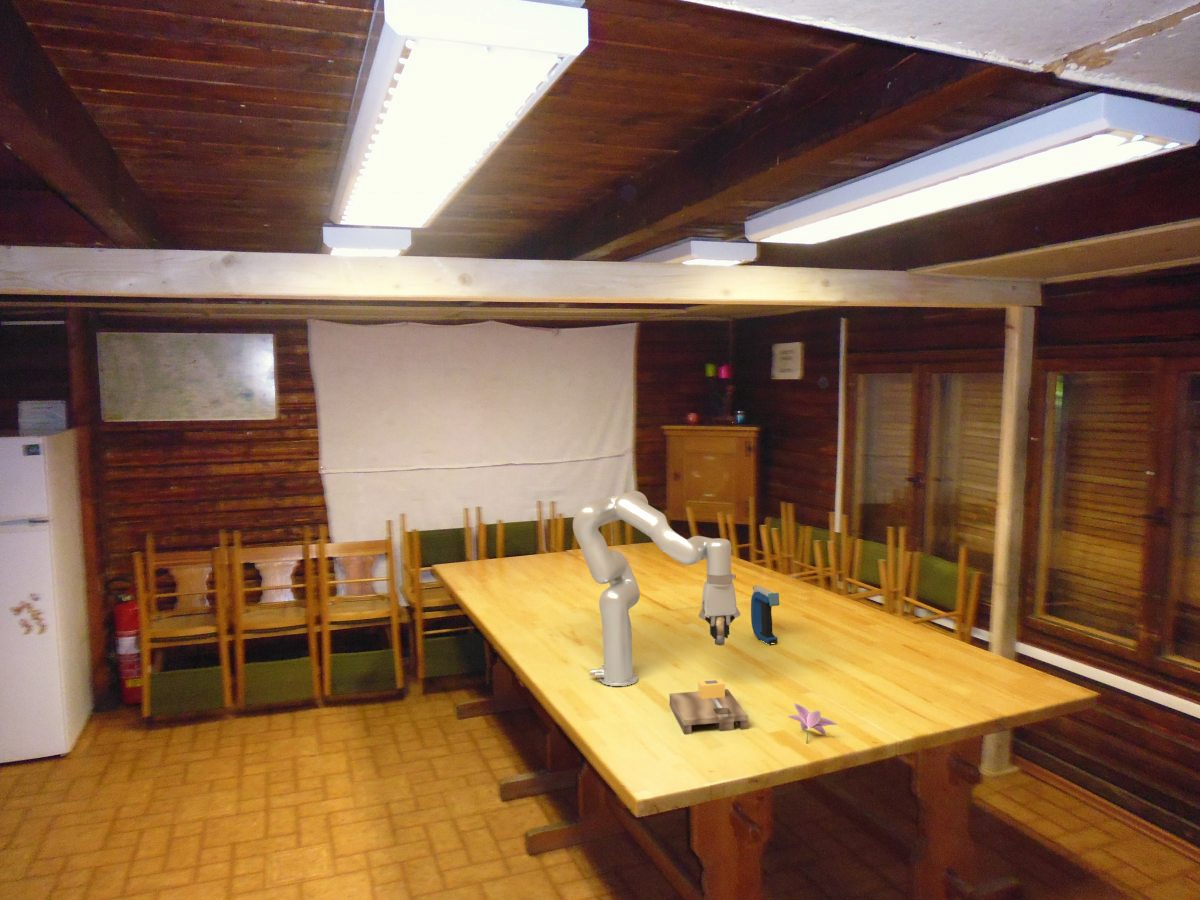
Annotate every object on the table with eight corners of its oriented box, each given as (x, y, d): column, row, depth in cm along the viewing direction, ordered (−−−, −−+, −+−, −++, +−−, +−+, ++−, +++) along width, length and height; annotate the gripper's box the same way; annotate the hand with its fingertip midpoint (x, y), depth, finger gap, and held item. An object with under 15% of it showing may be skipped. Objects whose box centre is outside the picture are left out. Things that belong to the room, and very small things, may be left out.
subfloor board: (684, 734, 225) (684, 720, 224) (669, 706, 244) (669, 693, 244) (747, 728, 227) (747, 714, 226) (728, 701, 247) (727, 688, 246)
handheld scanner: (769, 647, 296) (769, 594, 295) (750, 634, 311) (750, 584, 310) (781, 646, 297) (781, 593, 296) (761, 633, 313) (760, 583, 311)
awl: (716, 645, 251) (716, 616, 250) (713, 642, 254) (713, 614, 253) (725, 644, 251) (725, 616, 250) (723, 641, 254) (722, 613, 253)
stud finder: (701, 699, 239) (701, 685, 239) (698, 693, 243) (697, 680, 243) (725, 697, 240) (724, 683, 240) (721, 691, 244) (720, 678, 244)
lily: (842, 748, 215) (842, 710, 219) (810, 741, 210) (811, 702, 214) (808, 747, 225) (809, 711, 229) (777, 740, 219) (779, 703, 223)
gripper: (741, 574, 255) (741, 632, 257) (690, 577, 254) (691, 635, 255) (748, 580, 248) (748, 639, 249) (695, 583, 246) (696, 642, 248)
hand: (719, 636), depth 252 cm, fingers closed on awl, 3 cm apart
